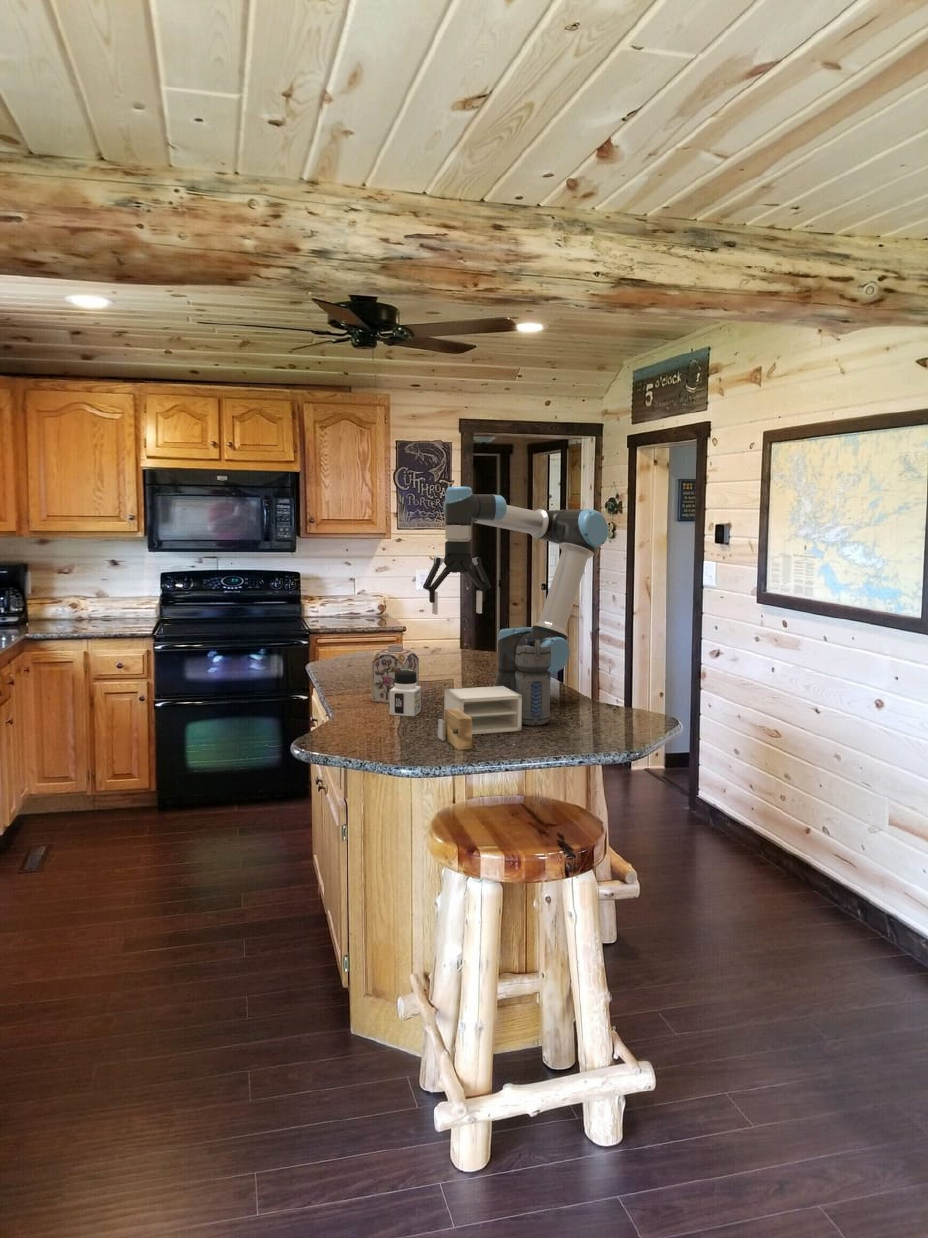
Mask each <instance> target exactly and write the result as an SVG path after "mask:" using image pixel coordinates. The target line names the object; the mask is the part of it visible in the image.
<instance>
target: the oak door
mask: <svg viewBox="0 0 928 1238" xmlns="http://www.w3.org/2000/svg"><path fill="white" fill-rule="evenodd" d="M443 719H444V721H445V722H446V727H445V741H447V742H448V743H449V744H451V745H452V746H453V747H455V748H456V749H457V750H458V751H462V750H472V749H473V734H472V718H471V717H469V716H468V715H466V714H465V713H463V712H462V711H460V710H459V709H445V715H444V714H443Z"/></svg>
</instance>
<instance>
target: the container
mask: <svg viewBox="0 0 928 1238" xmlns="http://www.w3.org/2000/svg"><path fill="white" fill-rule="evenodd" d="M421 699H422V687H421V686H420V685H419V686H416V672H415V671H413V670H398V671H396V672H395V687H394V688H392V689H391V690H390V703H389V715H390V716H400V717H401V716H403V717H415V716H417V715H418V714H419V713H420V712H421V710H422V706H421V705H422V700H421Z"/></svg>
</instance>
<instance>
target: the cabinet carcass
mask: <svg viewBox="0 0 928 1238" xmlns="http://www.w3.org/2000/svg"><path fill="white" fill-rule="evenodd" d="M443 690H444V691H443V692H444V693H443V696H444V697H443V716H444V715H445V709H459V710H460V711H462V712H463V713H465V714H466V715H468V716H469V717H471V718H472V735H481V734H482V735H483V734H495V733H507V732H522V724H521V715H522V695H520V694H518V693H516V692H514V691H512V690H510V689H508V688H506V687H504V686H477V687H458V688H445V689H443Z"/></svg>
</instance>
